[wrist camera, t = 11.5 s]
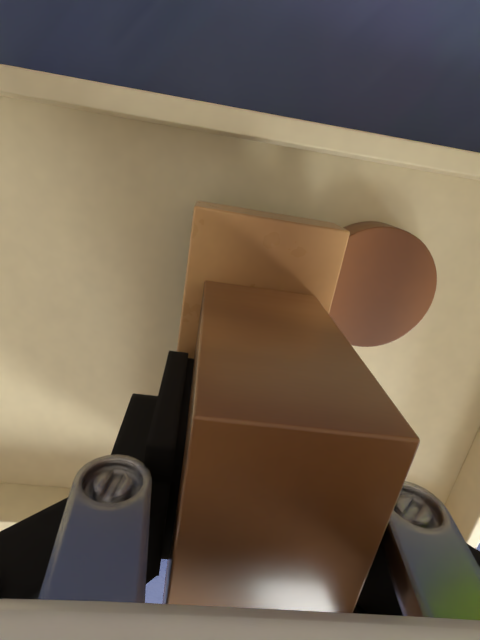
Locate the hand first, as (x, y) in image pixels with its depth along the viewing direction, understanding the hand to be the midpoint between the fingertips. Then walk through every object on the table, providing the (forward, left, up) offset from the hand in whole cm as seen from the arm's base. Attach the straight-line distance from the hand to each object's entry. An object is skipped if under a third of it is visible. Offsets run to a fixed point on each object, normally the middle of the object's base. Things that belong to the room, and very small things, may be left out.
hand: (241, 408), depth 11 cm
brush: (0, 0, -4) cm, 4 cm away
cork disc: (+4, +3, -4) cm, 6 cm away
